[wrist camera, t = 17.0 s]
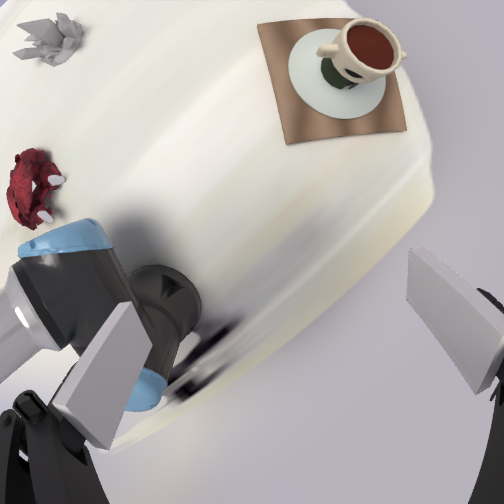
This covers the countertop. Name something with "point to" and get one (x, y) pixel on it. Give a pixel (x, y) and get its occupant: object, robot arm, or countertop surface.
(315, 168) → the countertop surface
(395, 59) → the character mug
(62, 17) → the crystal
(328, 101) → the saucer
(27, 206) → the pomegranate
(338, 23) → the stand
